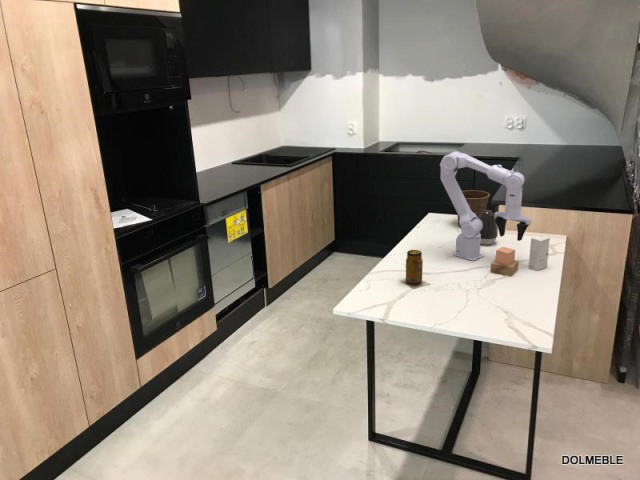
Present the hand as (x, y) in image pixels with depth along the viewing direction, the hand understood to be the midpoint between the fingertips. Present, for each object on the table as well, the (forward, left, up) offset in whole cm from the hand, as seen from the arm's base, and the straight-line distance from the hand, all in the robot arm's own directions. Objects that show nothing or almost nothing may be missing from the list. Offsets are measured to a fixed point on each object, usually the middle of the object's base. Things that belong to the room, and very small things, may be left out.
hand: (510, 237), depth 198 cm
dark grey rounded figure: (-20, +13, -11) cm, 26 cm away
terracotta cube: (+3, -9, -7) cm, 12 cm away
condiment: (-14, -41, -11) cm, 44 cm away
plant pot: (-39, +29, -11) cm, 50 cm away
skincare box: (+10, +3, -11) cm, 15 cm away
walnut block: (+3, -9, -11) cm, 14 cm away
